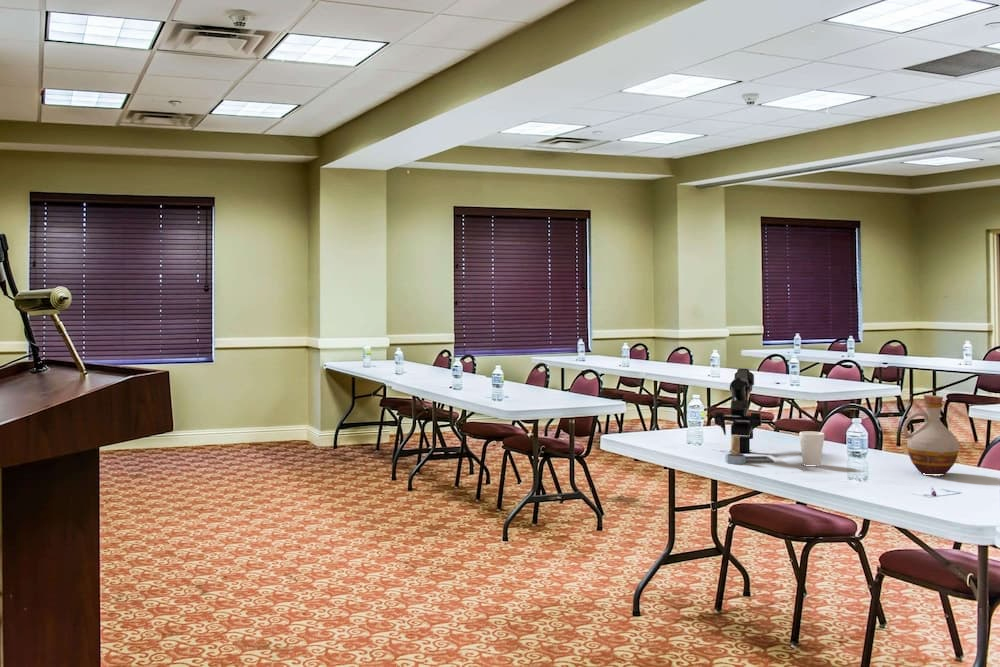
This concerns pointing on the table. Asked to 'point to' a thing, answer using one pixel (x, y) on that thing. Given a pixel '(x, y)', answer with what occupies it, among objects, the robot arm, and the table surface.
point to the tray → (758, 459)
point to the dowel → (735, 445)
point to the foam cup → (811, 447)
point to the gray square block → (735, 459)
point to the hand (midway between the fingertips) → (736, 435)
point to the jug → (931, 440)
